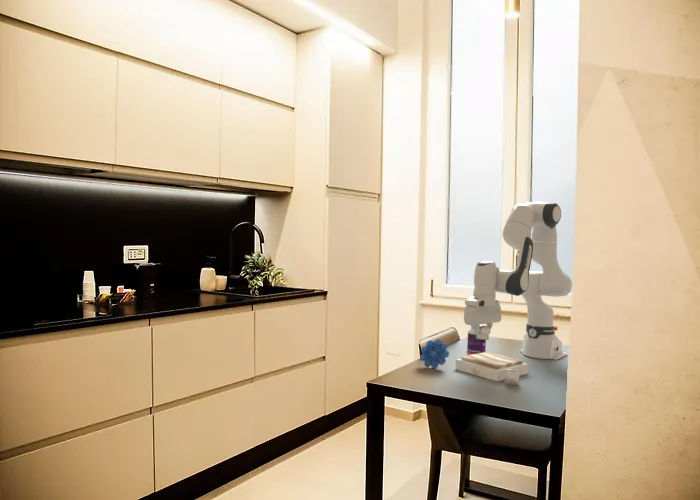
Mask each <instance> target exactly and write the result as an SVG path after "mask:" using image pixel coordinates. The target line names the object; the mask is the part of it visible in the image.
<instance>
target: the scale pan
mask: <svg viewBox="0 0 700 500" xmlns="http://www.w3.org/2000/svg"><path fill="white" fill-rule="evenodd" d="M460 358H461V360H465V361H469V362H472V363H476V364H480V365H483V366H487V367H491V368H494V369H500V368H504V367H509V366H513V365H518V364H522V363H524V362H523V360H522V359H517V358H514V357H509V356H505V355H502V354H498V353H494V352H489V351H485V352H484V353H478V354H473V355H463V356H460Z"/></svg>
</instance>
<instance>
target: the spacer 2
mask: <svg viewBox="0 0 700 500" xmlns="http://www.w3.org/2000/svg"><path fill="white" fill-rule="evenodd" d="M519 374H520V371H518V370H515V369H506V370H505V380H504V384H505V385H506V386H510V387H519V386H520V376H519Z"/></svg>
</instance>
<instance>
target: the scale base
mask: <svg viewBox="0 0 700 500" xmlns="http://www.w3.org/2000/svg"><path fill="white" fill-rule="evenodd" d="M528 367H529V363H525V362H523V363H522V364H518V365H513V366H509V367H504V368H500V369H494V368H491V367H487V366H483V365H480V364H476V363H472V362H469V361H465V360H461V357H460V358H455V370H457V371H460V372H464V373H468V374H471V375H474V376H477V377H481V378H484V379H488V380H490V381H495V382H500V381H505V370H506V369H515V370H518V371H520V374H519V377H520V376H525V375H528V370H529V368H528Z"/></svg>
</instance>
